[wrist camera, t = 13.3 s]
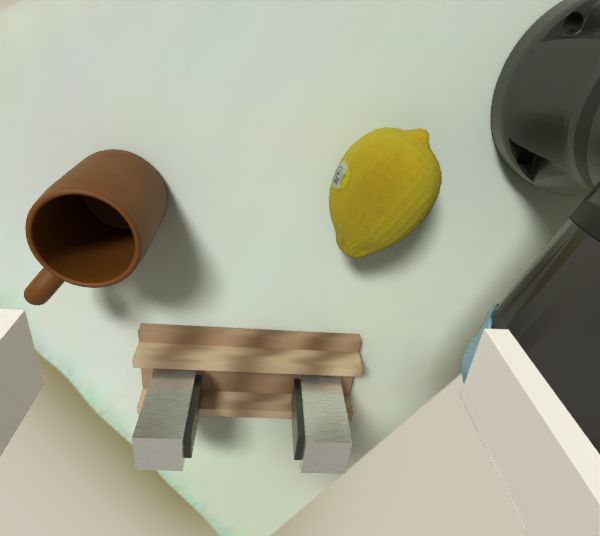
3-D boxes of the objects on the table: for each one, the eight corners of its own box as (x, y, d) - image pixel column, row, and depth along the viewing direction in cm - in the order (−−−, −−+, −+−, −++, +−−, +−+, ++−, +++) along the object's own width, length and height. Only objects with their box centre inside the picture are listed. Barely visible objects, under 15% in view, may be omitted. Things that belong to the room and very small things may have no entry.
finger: (337, 363, 47) (352, 443, 39) (332, 391, 49) (345, 473, 41) (293, 361, 47) (299, 442, 38) (289, 389, 49) (294, 472, 40)
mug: (105, 278, 42) (66, 344, 34) (29, 226, 39) (-34, 284, 31) (188, 190, 38) (166, 240, 30) (110, 125, 35) (63, 162, 27)
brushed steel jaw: (204, 358, 46) (189, 439, 37) (204, 387, 48) (189, 471, 39) (158, 355, 46) (132, 437, 37) (159, 384, 48) (134, 469, 39)
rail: (359, 334, 47) (365, 358, 44) (344, 403, 52) (349, 429, 49) (141, 323, 45) (131, 347, 42) (147, 396, 50) (138, 423, 47)
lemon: (380, 91, 35) (407, 112, 28) (448, 151, 38) (487, 184, 31) (295, 196, 39) (300, 237, 32) (361, 244, 42) (379, 291, 35)
